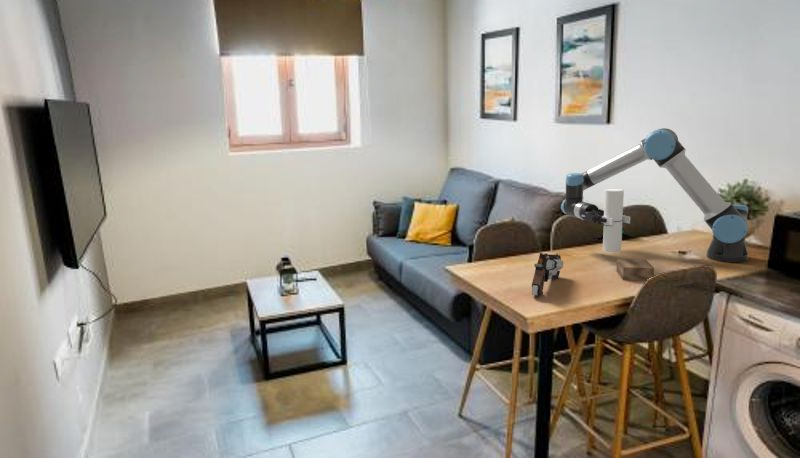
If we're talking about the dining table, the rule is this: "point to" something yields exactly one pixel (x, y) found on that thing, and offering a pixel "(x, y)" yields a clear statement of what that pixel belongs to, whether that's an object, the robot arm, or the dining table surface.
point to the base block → (634, 269)
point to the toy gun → (545, 271)
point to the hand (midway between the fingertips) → (621, 221)
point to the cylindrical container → (615, 211)
